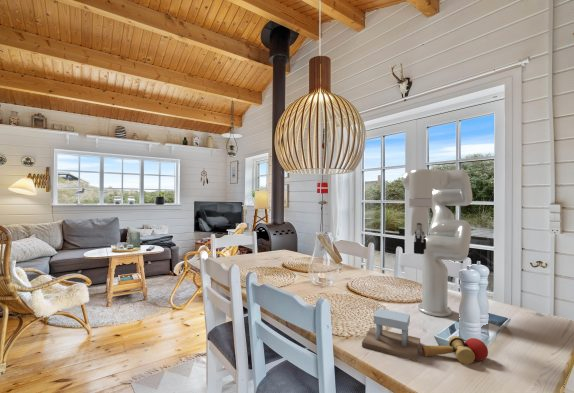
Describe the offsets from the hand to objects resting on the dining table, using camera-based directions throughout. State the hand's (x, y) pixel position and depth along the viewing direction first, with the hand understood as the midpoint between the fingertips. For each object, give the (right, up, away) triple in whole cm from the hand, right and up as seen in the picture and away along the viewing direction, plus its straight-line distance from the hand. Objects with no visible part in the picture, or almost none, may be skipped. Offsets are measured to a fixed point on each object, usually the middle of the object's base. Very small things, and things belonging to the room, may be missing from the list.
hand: (420, 251), depth 104 cm
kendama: (+2, -29, -17) cm, 34 cm away
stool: (-14, -27, -10) cm, 32 cm away
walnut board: (-14, -28, -10) cm, 33 cm away
